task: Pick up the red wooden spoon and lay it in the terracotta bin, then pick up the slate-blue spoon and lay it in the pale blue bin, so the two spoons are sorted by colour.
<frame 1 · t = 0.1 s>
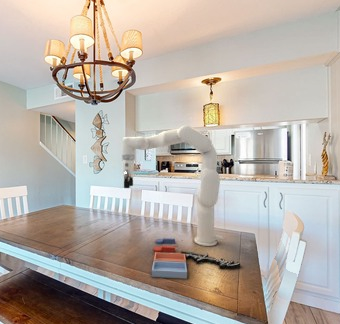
hand: (128, 186, 124), 31 cm above the table, tool pointing down, fingers open, 9 cm apart
nameplate: (208, 261, 98), on the table
blue spoon: (165, 242, 120), on the table
blue bin: (169, 272, 88), on the table
red spoon: (164, 250, 109), on the table
red bin: (169, 262, 97), on the table
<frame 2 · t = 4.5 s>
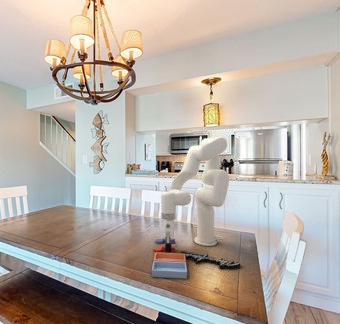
hand: (168, 250, 109), 0 cm above the table, tool pointing down, fingers closed on red spoon, 1 cm apart
red spoon: (164, 250, 109), on the table, touching gripper
everything else where it was.
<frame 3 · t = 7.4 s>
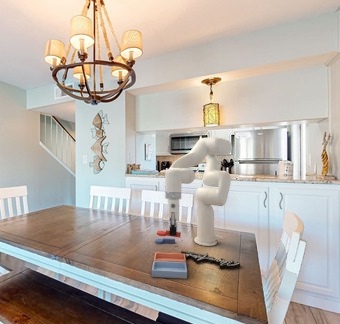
hand: (173, 234, 98), 13 cm above the table, tool pointing down, fingers closed on red spoon, 1 cm apart
red spoon: (168, 235, 98), point 12 cm above the table, tilted 6°, touching gripper
everything else where it was.
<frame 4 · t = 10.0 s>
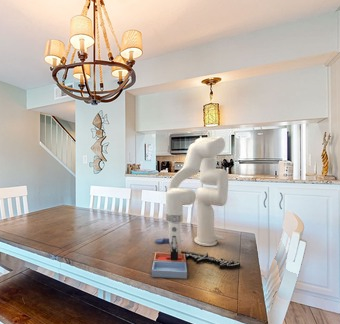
hand: (174, 256, 96), 3 cm above the table, tool pointing down, fingers open, 6 cm apart
red spoon: (169, 261, 97), resting on red bin
everything else where it was.
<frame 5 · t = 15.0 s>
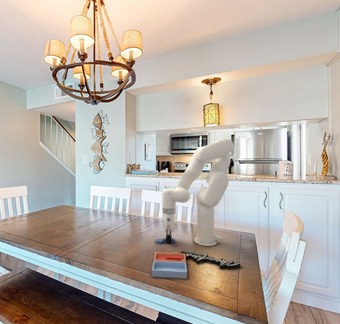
hand: (168, 242, 120), 0 cm above the table, tool pointing down, fingers closed on blue spoon, 1 cm apart
blue spoon: (165, 242, 120), on the table, touching gripper
everything else where it was.
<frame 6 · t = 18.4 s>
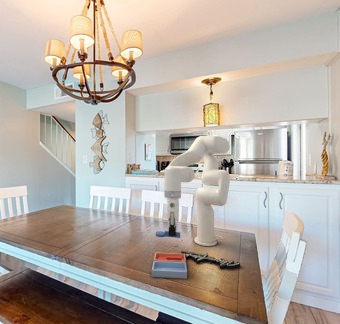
hand: (172, 234, 94), 14 cm above the table, tool pointing down, fingers closed on blue spoon, 1 cm apart
blue spoon: (167, 236, 95), point 13 cm above the table, touching gripper
everything else where it was.
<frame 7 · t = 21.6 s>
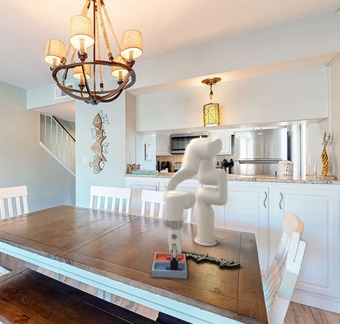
hand: (174, 266, 88), 3 cm above the table, tool pointing down, fingers open, 4 cm apart
blue spoon: (169, 271, 88), point 1 cm above the table, touching blue bin
everything else where it was.
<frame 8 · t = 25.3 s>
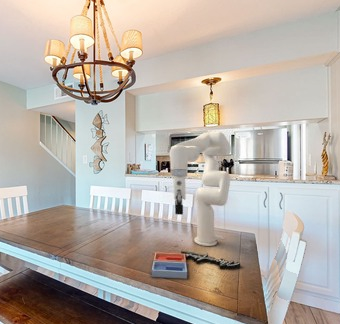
hand: (178, 211, 94), 24 cm above the table, tool pointing down, fingers open, 9 cm apart
nothing on the table moved.
at the end: red spoon inside the target area in the red bin (0.1 cm from its centre), point 0.5 cm above the red bin's base; blue spoon inside the target area in the blue bin (0.0 cm from its centre), point 0.5 cm above the blue bin's base; the gripper is holding nothing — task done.
